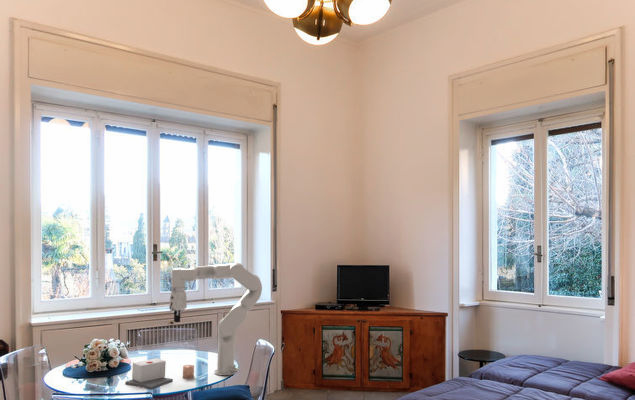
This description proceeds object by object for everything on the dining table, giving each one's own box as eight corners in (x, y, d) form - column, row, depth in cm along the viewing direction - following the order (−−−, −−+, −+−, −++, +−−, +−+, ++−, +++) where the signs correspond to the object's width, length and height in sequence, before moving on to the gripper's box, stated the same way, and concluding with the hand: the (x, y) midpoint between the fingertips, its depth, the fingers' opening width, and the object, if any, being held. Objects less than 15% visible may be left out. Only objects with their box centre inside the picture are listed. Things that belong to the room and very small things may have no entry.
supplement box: (166, 360, 286) (141, 365, 275) (165, 377, 286) (140, 382, 274) (157, 357, 292) (132, 362, 281) (156, 373, 292) (131, 379, 281)
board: (172, 381, 282) (172, 379, 282) (151, 389, 268) (151, 386, 268) (147, 376, 290) (147, 374, 290) (125, 384, 276) (125, 381, 276)
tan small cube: (195, 376, 292) (196, 365, 293) (189, 379, 287) (189, 368, 287) (187, 375, 295) (187, 364, 295) (180, 377, 290) (180, 366, 290)
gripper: (174, 291, 292) (173, 324, 291) (191, 288, 305) (190, 320, 304) (164, 290, 295) (162, 323, 294) (181, 288, 309) (180, 319, 308)
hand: (177, 321), depth 299 cm, fingers closed
